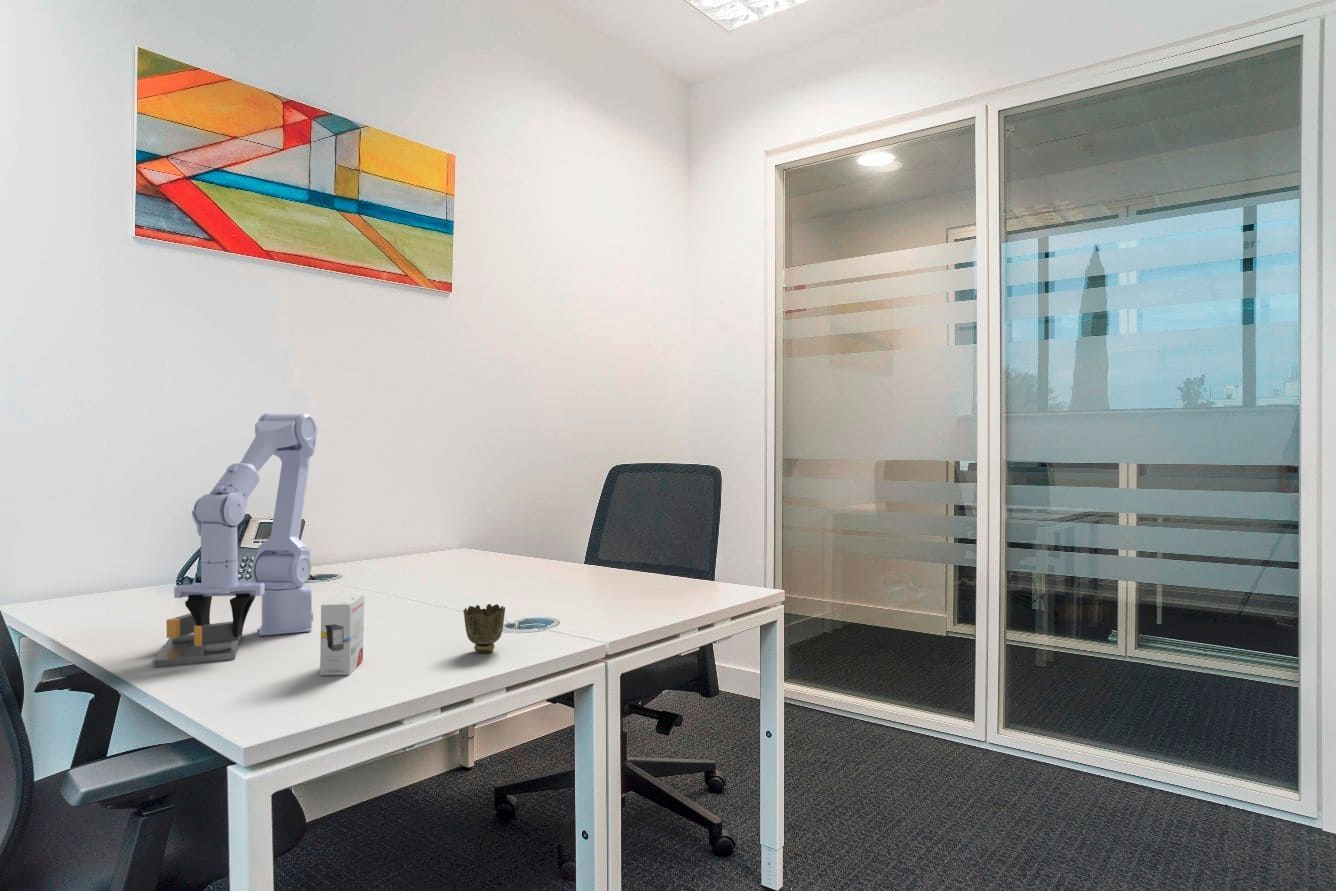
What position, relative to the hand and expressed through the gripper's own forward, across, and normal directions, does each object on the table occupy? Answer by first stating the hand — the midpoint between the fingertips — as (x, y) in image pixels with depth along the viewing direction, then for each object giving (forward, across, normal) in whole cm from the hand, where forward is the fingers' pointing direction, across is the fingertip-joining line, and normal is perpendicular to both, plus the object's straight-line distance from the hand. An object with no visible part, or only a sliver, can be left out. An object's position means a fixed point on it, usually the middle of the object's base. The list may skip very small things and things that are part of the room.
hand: (220, 636), depth 142 cm
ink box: (+4, +24, -12) cm, 27 cm away
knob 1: (+2, -9, +7) cm, 12 cm away
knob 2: (+2, 0, -1) cm, 2 cm away
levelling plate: (+3, -5, +3) cm, 7 cm away
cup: (+4, +47, -3) cm, 47 cm away
